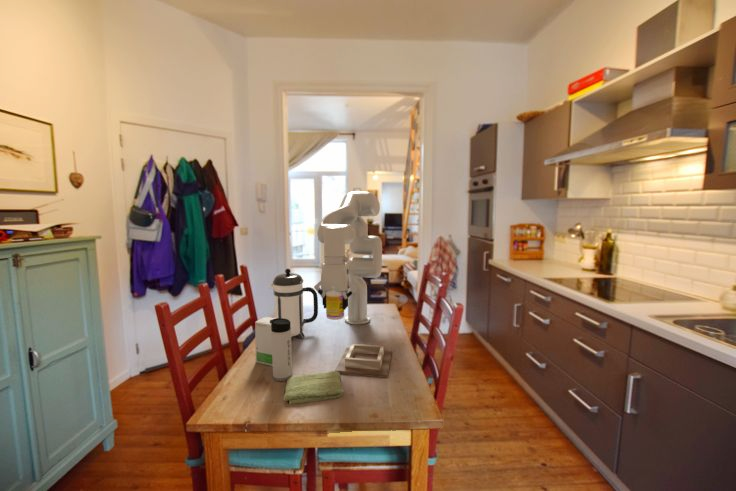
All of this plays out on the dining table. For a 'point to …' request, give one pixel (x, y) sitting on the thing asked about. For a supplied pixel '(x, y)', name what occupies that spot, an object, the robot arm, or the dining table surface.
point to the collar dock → (365, 361)
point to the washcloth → (313, 387)
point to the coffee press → (292, 301)
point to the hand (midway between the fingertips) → (335, 307)
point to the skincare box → (263, 341)
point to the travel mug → (281, 349)
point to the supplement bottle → (334, 305)
